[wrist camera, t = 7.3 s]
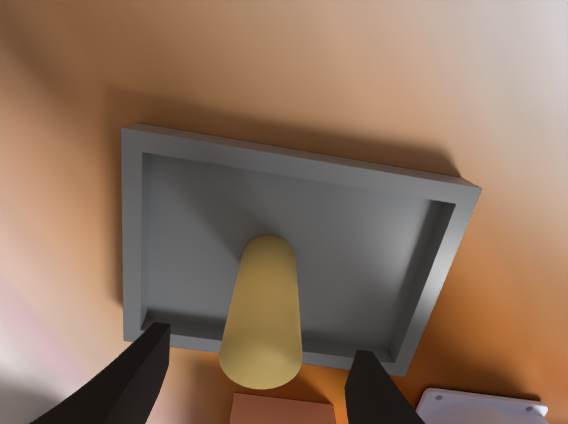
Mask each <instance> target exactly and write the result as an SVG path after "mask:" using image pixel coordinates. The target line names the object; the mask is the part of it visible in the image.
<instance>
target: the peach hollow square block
mask: <svg viewBox="0 0 568 424" xmlns="http://www.w3.org/2000/svg"><path fill="white" fill-rule="evenodd" d="M229 424H336V419H335V413H334V406H333V405H331V404H323V403H315V402H307V401H298V400H290V399H282V398H274V397H265V396H257V395H249V394H241V393H234V397H233V403H232V409H231V416H230V422H229Z"/></svg>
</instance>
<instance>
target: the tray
mask: <svg viewBox="0 0 568 424" xmlns="http://www.w3.org/2000/svg"><path fill="white" fill-rule="evenodd" d="M121 181H122V257H123V332H124V341H129V342H134V341H135V340H136V339H137V338H138V337H139V336H140V335H141V334H142V333H143V332H144V331H145V330H146V329H147V328H148V327H149V326H150V325H151V324H152V323H154V322H159V323H166V324H171V332H170V347H175V348H183V349H191V350H199V351H207V352H214V353H219V351H220V347H221V342H222V338H223V334H224V330H225V325H226V321H227V317H228V313H229V308H230V304H231V300H232V295H233V291H234V287H235V283H236V278H237V274H238V270H239V266H240V261H241V257H242V253H243V250H244V248H245V246H246V245H247V244H248V243H249V242H250V241H251V240H253V239H254V238H256V237H259V236H263V235H274V236H278V237H280V238H282V239H284V240H286V241H287V242H288V243H289V244H290V245H291V246H292V248H293V250H294V252H295V256H296V269H297V284H298V298H299V312H300V327H301V341H302V355H303V361H302V364H308V365H316V366H323V367H331V368H339V369H347V370H350V369H351V366H352V363H353V360H354V357H355V354H356V351H357V349H358V350H365V351H372V352H373V353H374V355H375V356H376V358H377V359H378V360H379V362H380V363H381V365H382V366H383V368H384V369H385V371H386V372H387V373H388V375H393V376H401V377H405V376H406V374H407V371H408V369H409V366H410V364H411V361H412V359H413V357H414V354H415V352H416V349H417V347H418V344H419V342H420V339H421V337H422V335H423V332H424V330H425V327H426V325H427V322H428V320H429V317H430V315H431V313H432V310H433V308H434V305H435V303H436V300H437V298H438V296H439V293H440V291H441V288H442V286H443V283H444V281H445V278H446V276H447V274H448V271H449V269H450V266H451V264H452V261H453V259H454V257H455V254H456V252H457V249H458V247H459V244H460V242H461V239H462V237H463V235H464V232H465V230H466V227H467V225H468V222H469V220H470V217H471V215H472V213H473V210H474V208H475V205H476V203H477V200H478V198H479V196H480V193H481V191H482V188H480V187H479V186H477V185H475V184H473V183H471V182H469V181H468V180H466V179H464V178H461V177H455V176H449V175H443V174H437V173H431V172H426V171H420V170H414V169H408V168H402V167H396V166H390V165H384V164H378V163H372V162H367V161H361V160H355V159H349V158H343V157H337V156H331V155H325V154H319V153H313V152H308V151H302V150H296V149H290V148H284V147H278V146H272V145H266V144H260V143H254V142H249V141H243V140H237V139H231V138H225V137H219V136H213V135H207V134H201V133H195V132H190V131H184V130H178V129H172V128H166V127H160V126H154V125H148V124H142V123H136V124H132V125H129V126H125V127H122V128H121Z"/></svg>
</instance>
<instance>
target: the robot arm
mask: <svg viewBox="0 0 568 424" xmlns="http://www.w3.org/2000/svg"><path fill="white" fill-rule="evenodd" d="M170 332H171V324H166V323H159V322H154V323H152V324H151V325H150V326H149V327H148V328H147V329H146V330H145V331H144V332H143V333H142V334H141V335H140V336H139V337H138V338H137V339H136V340H135V341H134V342H133V343H132V344H131V345H130V346H129V347H128V348H127V349H126V350H125V351H124V352H122V353H121V354H120V355H119V356H118V357H117V358H116V359H115V360H114V361H113V362H111V363H110V364H109V365H108V366H107V367H106V368H104V369H103V370H102V371H101V372H100V373H98V374H97V375H96V376H95V377H94V378H92V379H91V380H90V381H89V382H88V383H86V384H85V385H84V386H82V387H81V388H80V389H79V390H77V391H76V392H75V393H73V394H72V395H71V396H69V397H68V398H66V399H65V400H64V401H62V402H61V403H60V404H58V405H57V406H55V407H54V408H52V409H51V410H49V411H48V412H46V413H45V414H43V415H42V416H40V417H39V418H37V419H36V420H34V421H33V422H31V423H30V424H145V423H146V421H147V419H148V417H149V414H150V412H151V410H152V408H153V406H154V403H155V401H156V399H157V397H158V395H159V392H160V389H161V387H162V384H163V381H164V378H165V375H166V372H167V369H168V366H169V350H170ZM345 398H346V408H347V416H348V421H349V424H549V423H548V422H547V420H546V419H545V418H544V416H545V414H546V413H547V411H548V407H547V406H546V405H545V403H543V402H539V401H531V400H523V399H516V398H508V397H500V396H492V395H484V394H476V393H468V392H460V391H453V390H445V389H437V388H428V389H426V390H425V391H424V393H423V395H422V397H421V400H420V402H419V404H418V406H417V409H416V411H415V410H414V409H413V408H412V406H411V405H410V404H409V402H408V401H407V400H406V398H405V397H404V396H403V394H402V393H401V392H400V390H399V389H398V387H397V386H396V385H395V383H394V382H393V380H392V379H391V378H390V376H389V375H388V373H387V372H386V371H385V369H384V368H383V366H382V365H381V363H380V362H379V360H378V359H377V358H376V356H375V355H374V353H373V352H372V351H365V350H358V349H357V351H356V354H355V357H354V360H353V363H352V366H351V369H350V372H349V375H348V379H347V382H346V385H345Z"/></svg>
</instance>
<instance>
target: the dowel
mask: <svg viewBox="0 0 568 424" xmlns="http://www.w3.org/2000/svg"><path fill="white" fill-rule="evenodd" d="M302 361H303V355H302V341H301V327H300V312H299V298H298V284H297V269H296V256H295V252H294V250H293V248H292V246H291V245H290V244H289V243H288V242H287V241H286V240H284V239H282V238H280V237H278V236H274V235H263V236H259V237H256V238H254V239H253V240H251V241H250V242H249V243H248V244H247V245H246V246H245V248H244V250H243V253H242V257H241V261H240V266H239V270H238V274H237V278H236V283H235V287H234V291H233V295H232V300H231V304H230V308H229V313H228V317H227V321H226V325H225V330H224V334H223V338H222V342H221V347H220V351H219V363H220V366H221V368H222V370H223V371H224V373H225V374H226V375H227V376H228V377H229V378H230V379H231V380H232V381H234V382H235V383H237V384H239V385H242V386H244V387H248V388H252V389H271V388H276V387H279V386H282V385H284V384H286V383H287V382H289V381H290V380H292V379H293V378H294V377H295V376H296V375H297V373H298V372H299V370H300V368H301V365H302Z"/></svg>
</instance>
